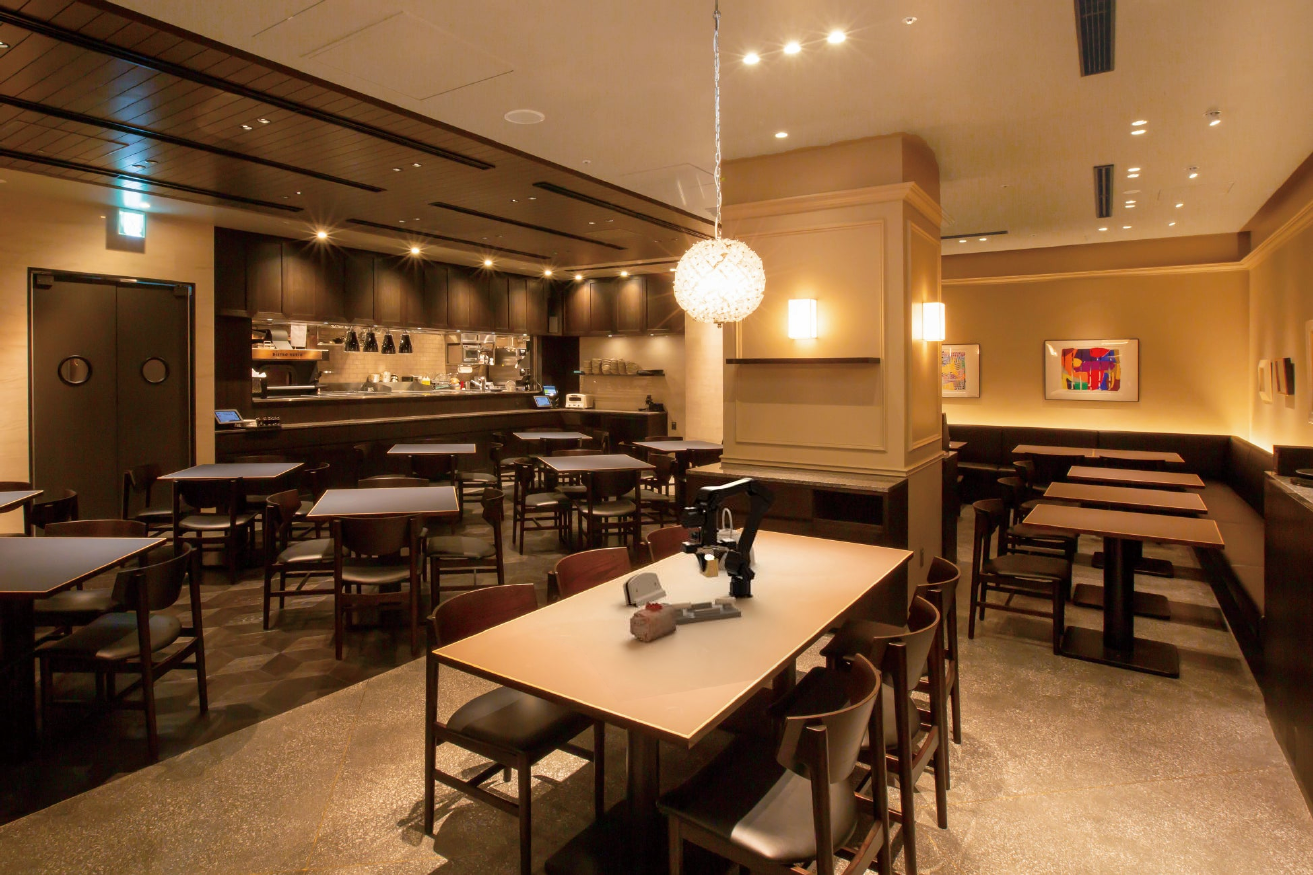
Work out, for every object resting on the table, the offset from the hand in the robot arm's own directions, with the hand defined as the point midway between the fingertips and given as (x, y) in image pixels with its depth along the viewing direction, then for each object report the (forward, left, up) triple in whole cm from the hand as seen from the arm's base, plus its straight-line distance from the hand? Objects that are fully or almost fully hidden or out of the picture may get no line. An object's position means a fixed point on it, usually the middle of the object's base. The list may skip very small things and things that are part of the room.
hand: (708, 571), depth 236 cm
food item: (+28, +22, -11) cm, 37 cm away
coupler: (0, 0, -1) cm, 1 cm away
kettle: (-30, -48, -11) cm, 58 cm away
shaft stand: (+7, +11, -11) cm, 17 cm away
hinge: (+19, -12, -11) cm, 25 cm away
